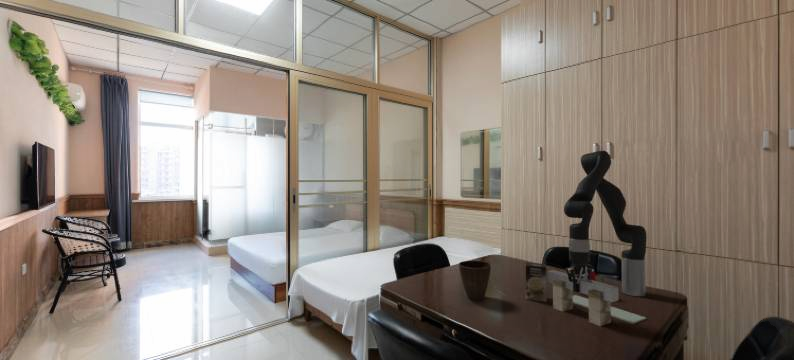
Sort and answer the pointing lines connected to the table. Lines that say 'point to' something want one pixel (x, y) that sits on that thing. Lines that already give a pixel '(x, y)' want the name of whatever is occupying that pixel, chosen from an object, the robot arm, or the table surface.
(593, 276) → the soda can
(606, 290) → the rail
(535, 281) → the coffee box
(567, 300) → the post
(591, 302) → the post
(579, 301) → the felt mat
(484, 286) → the plant pot
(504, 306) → the table surface
